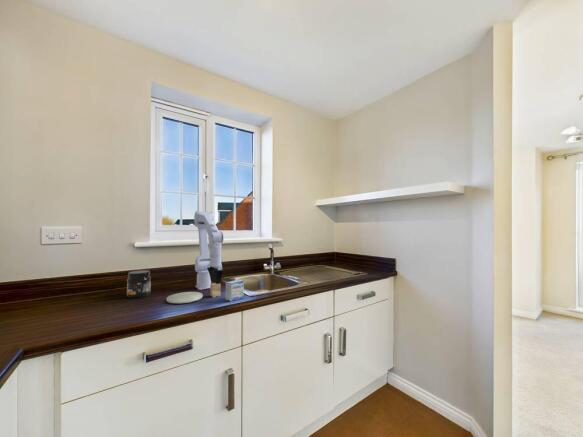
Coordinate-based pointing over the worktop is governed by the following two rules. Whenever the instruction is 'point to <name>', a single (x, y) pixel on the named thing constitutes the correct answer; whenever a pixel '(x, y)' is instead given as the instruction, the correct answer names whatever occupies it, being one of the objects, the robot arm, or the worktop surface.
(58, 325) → the worktop surface
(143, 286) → the supplement container
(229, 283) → the medicine box
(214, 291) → the tan rectangular block
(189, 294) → the sage dish
